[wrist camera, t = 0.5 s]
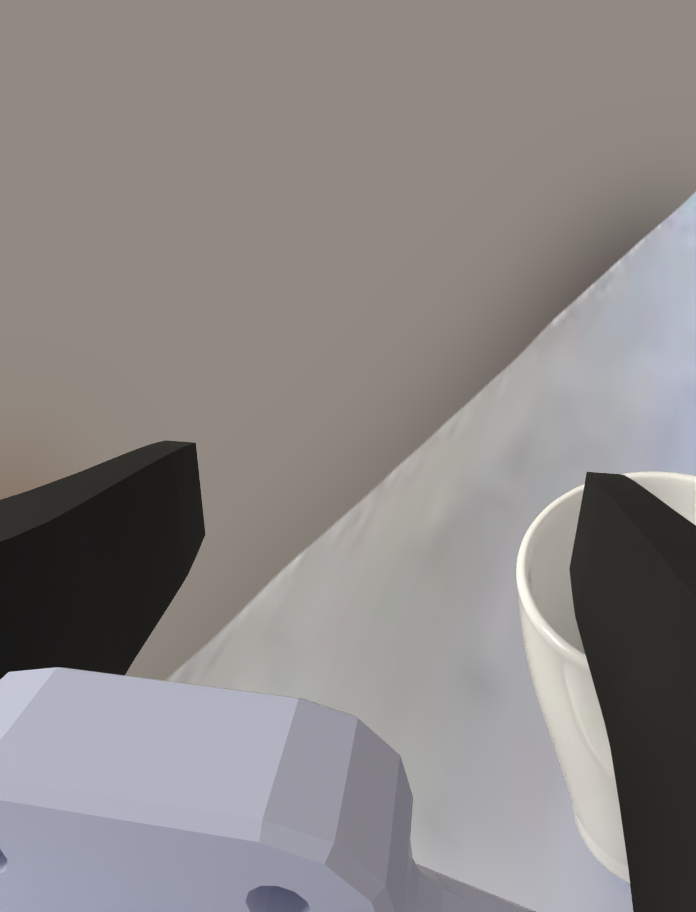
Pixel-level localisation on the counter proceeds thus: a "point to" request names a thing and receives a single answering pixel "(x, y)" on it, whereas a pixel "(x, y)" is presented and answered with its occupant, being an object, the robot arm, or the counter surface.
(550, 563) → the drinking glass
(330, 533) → the counter surface
